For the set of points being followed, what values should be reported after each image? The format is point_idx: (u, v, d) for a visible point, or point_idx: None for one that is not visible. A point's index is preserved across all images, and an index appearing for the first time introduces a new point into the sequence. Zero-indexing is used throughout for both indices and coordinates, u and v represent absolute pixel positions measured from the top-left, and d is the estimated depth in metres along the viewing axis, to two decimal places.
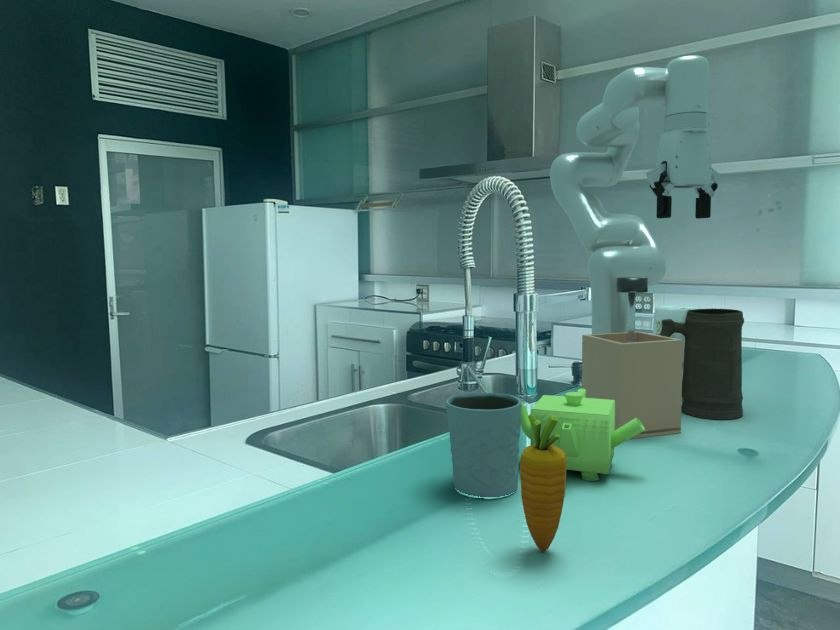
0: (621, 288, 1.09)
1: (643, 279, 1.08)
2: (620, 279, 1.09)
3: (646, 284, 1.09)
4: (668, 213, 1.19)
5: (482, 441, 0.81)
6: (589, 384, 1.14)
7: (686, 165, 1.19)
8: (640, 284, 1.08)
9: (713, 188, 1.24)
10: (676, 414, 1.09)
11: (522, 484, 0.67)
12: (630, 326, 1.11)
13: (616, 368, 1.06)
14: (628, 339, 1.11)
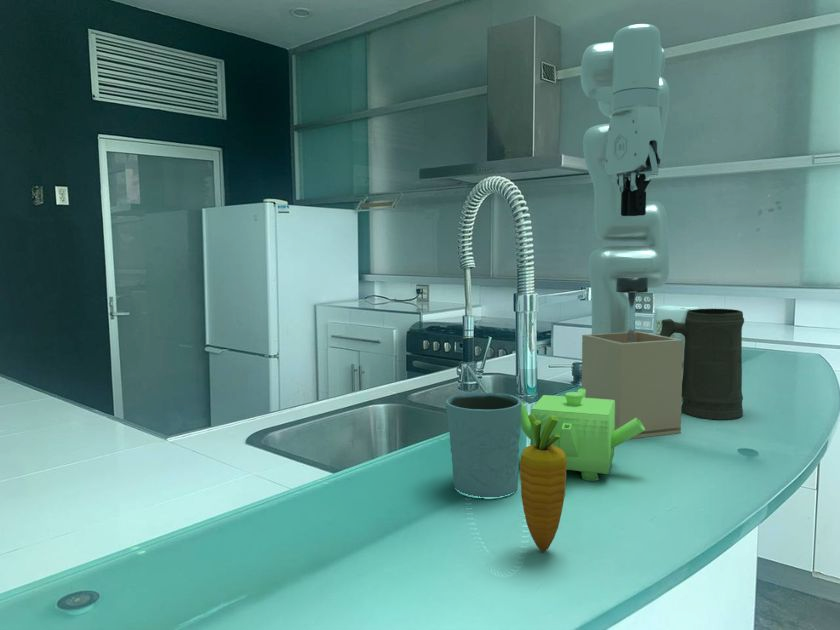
0: (621, 288, 1.09)
1: (643, 279, 1.08)
2: (620, 279, 1.09)
3: (646, 284, 1.09)
4: (644, 210, 1.09)
5: (482, 441, 0.81)
6: (589, 384, 1.14)
7: None
8: (640, 284, 1.08)
9: None
10: (676, 414, 1.09)
11: (522, 484, 0.67)
12: (630, 326, 1.11)
13: (616, 368, 1.06)
14: (628, 339, 1.11)
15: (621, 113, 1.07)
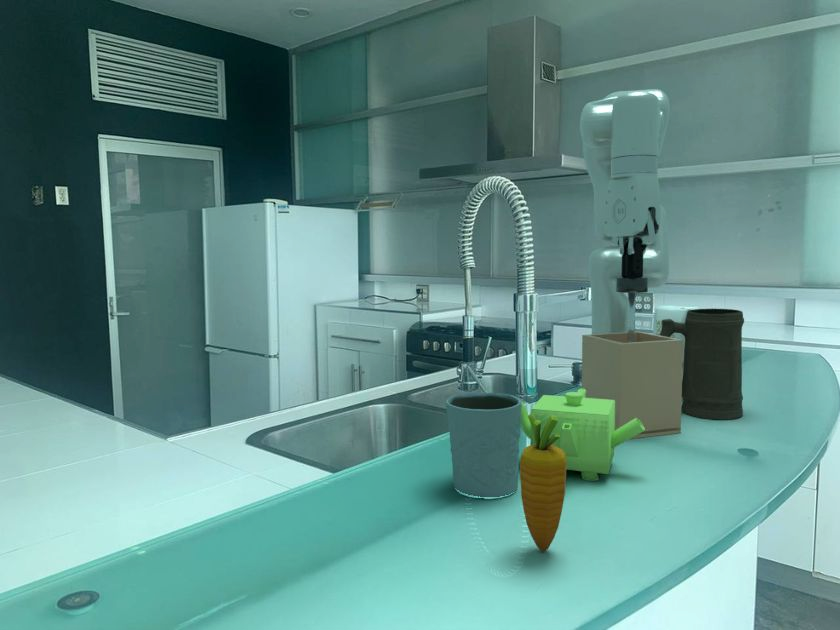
0: (621, 288, 1.09)
1: (643, 279, 1.08)
2: (620, 279, 1.09)
3: (646, 284, 1.09)
4: (642, 273, 1.10)
5: (482, 441, 0.81)
6: (589, 384, 1.14)
7: None
8: (640, 284, 1.08)
9: None
10: (676, 414, 1.09)
11: (522, 484, 0.67)
12: (630, 326, 1.11)
13: (616, 368, 1.06)
14: (628, 339, 1.11)
15: (620, 178, 1.08)
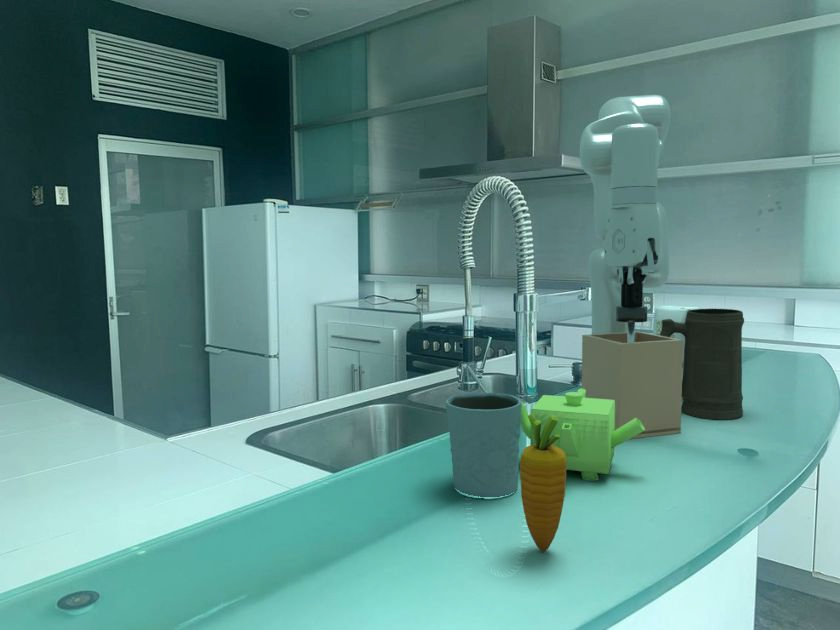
0: (621, 317, 1.10)
1: (642, 309, 1.09)
2: (620, 308, 1.10)
3: (645, 314, 1.09)
4: (641, 302, 1.10)
5: (482, 441, 0.81)
6: (589, 384, 1.14)
7: None
8: (639, 314, 1.09)
9: None
10: (676, 414, 1.09)
11: (522, 484, 0.67)
12: None
13: (616, 368, 1.06)
14: None
15: (619, 208, 1.08)
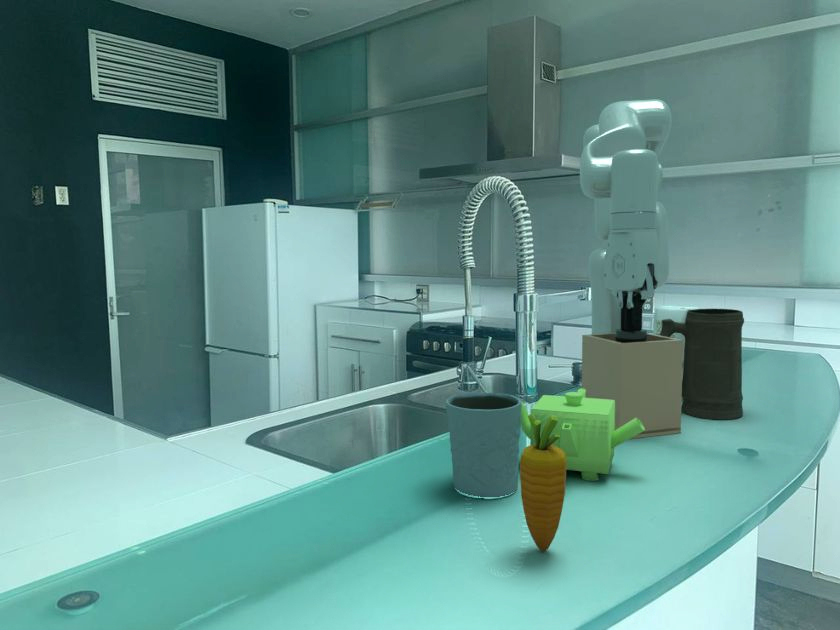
0: (620, 341, 1.10)
1: (642, 333, 1.09)
2: (619, 332, 1.10)
3: (645, 337, 1.10)
4: (641, 326, 1.11)
5: (482, 441, 0.81)
6: (589, 384, 1.14)
7: None
8: (639, 338, 1.09)
9: None
10: (676, 414, 1.09)
11: (522, 484, 0.67)
12: None
13: (616, 368, 1.06)
14: None
15: (619, 233, 1.09)
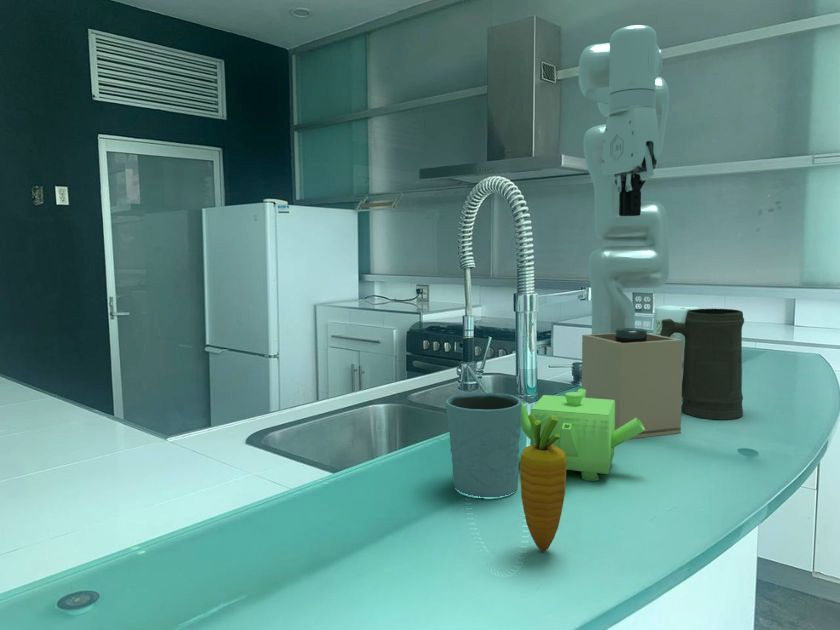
0: (620, 340, 1.10)
1: (642, 332, 1.09)
2: (619, 332, 1.10)
3: (645, 337, 1.10)
4: (639, 211, 1.09)
5: (482, 441, 0.81)
6: (589, 384, 1.14)
7: None
8: (639, 337, 1.09)
9: None
10: (676, 414, 1.09)
11: (522, 484, 0.67)
12: None
13: (616, 368, 1.06)
14: None
15: (618, 114, 1.07)
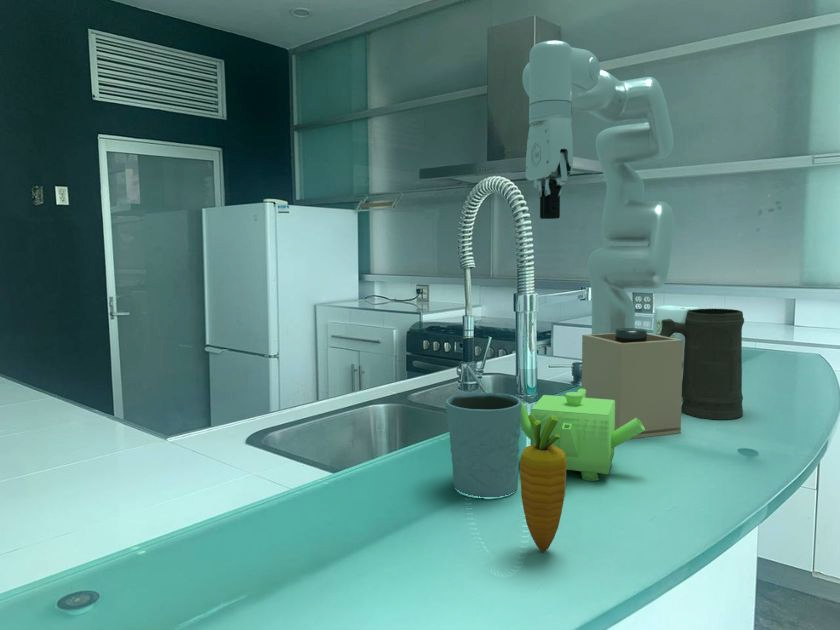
0: (620, 340, 1.10)
1: (642, 332, 1.09)
2: (619, 332, 1.10)
3: (645, 337, 1.10)
4: (558, 214, 1.17)
5: (482, 441, 0.81)
6: (589, 384, 1.14)
7: None
8: (639, 337, 1.09)
9: None
10: (676, 414, 1.09)
11: (522, 484, 0.67)
12: None
13: (616, 368, 1.06)
14: None
15: (537, 123, 1.15)
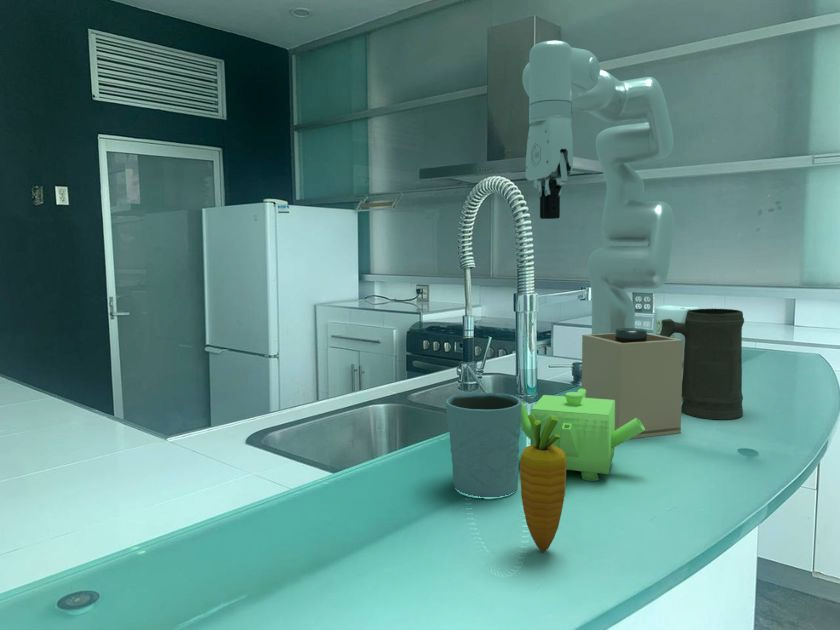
0: (620, 340, 1.10)
1: (642, 332, 1.09)
2: (619, 332, 1.10)
3: (645, 337, 1.10)
4: (558, 214, 1.17)
5: (482, 441, 0.81)
6: (589, 384, 1.14)
7: None
8: (639, 337, 1.09)
9: None
10: (676, 414, 1.09)
11: (522, 484, 0.67)
12: None
13: (616, 368, 1.06)
14: None
15: (536, 123, 1.15)
